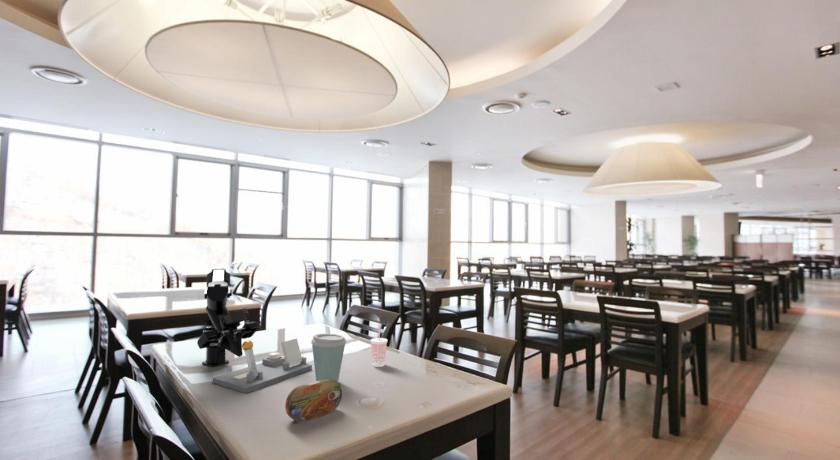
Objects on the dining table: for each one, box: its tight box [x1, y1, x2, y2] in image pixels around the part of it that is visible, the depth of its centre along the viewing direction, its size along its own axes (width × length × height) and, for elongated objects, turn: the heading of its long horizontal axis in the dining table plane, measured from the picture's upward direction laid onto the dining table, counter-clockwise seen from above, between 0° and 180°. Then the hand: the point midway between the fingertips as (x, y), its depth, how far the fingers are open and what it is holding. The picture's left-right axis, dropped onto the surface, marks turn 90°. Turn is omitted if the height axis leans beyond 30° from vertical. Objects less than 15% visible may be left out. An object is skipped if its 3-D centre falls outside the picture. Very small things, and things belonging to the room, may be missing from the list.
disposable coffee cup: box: [310, 333, 347, 383], centre depth 126 cm, size 11×11×15 cm
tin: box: [284, 379, 343, 423], centre depth 103 cm, size 15×3×8 cm, turn 134°
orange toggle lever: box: [242, 340, 258, 377], centre depth 125 cm, size 3×3×11 cm
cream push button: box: [268, 352, 281, 361], centre depth 140 cm, size 4×4×2 cm
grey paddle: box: [280, 338, 303, 365], centre depth 139 cm, size 1×6×8 cm, turn 150°
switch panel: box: [212, 355, 313, 394], centre depth 132 cm, size 16×26×4 cm, turn 150°
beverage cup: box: [370, 325, 388, 368], centre depth 146 cm, size 6×6×14 cm
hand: (240, 355), depth 128 cm, fingers closed
